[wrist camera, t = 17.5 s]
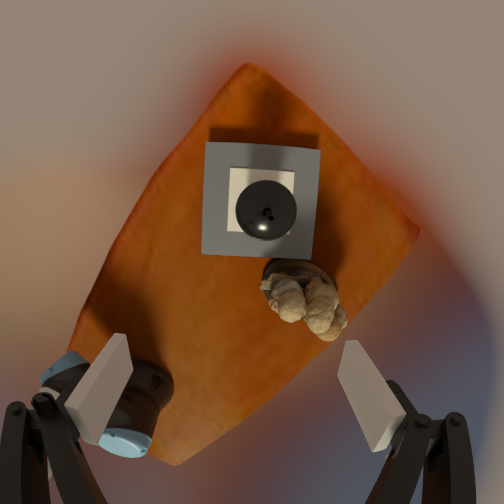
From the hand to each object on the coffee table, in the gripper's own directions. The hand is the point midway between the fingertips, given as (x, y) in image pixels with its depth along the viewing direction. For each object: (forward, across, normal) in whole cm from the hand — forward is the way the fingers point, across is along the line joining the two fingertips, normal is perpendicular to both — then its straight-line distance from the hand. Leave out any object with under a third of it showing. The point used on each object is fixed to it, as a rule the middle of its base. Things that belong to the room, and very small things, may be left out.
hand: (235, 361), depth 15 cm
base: (+38, -4, -7) cm, 38 cm away
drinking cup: (+34, -4, -7) cm, 35 cm away
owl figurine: (+38, -12, +10) cm, 41 cm away
